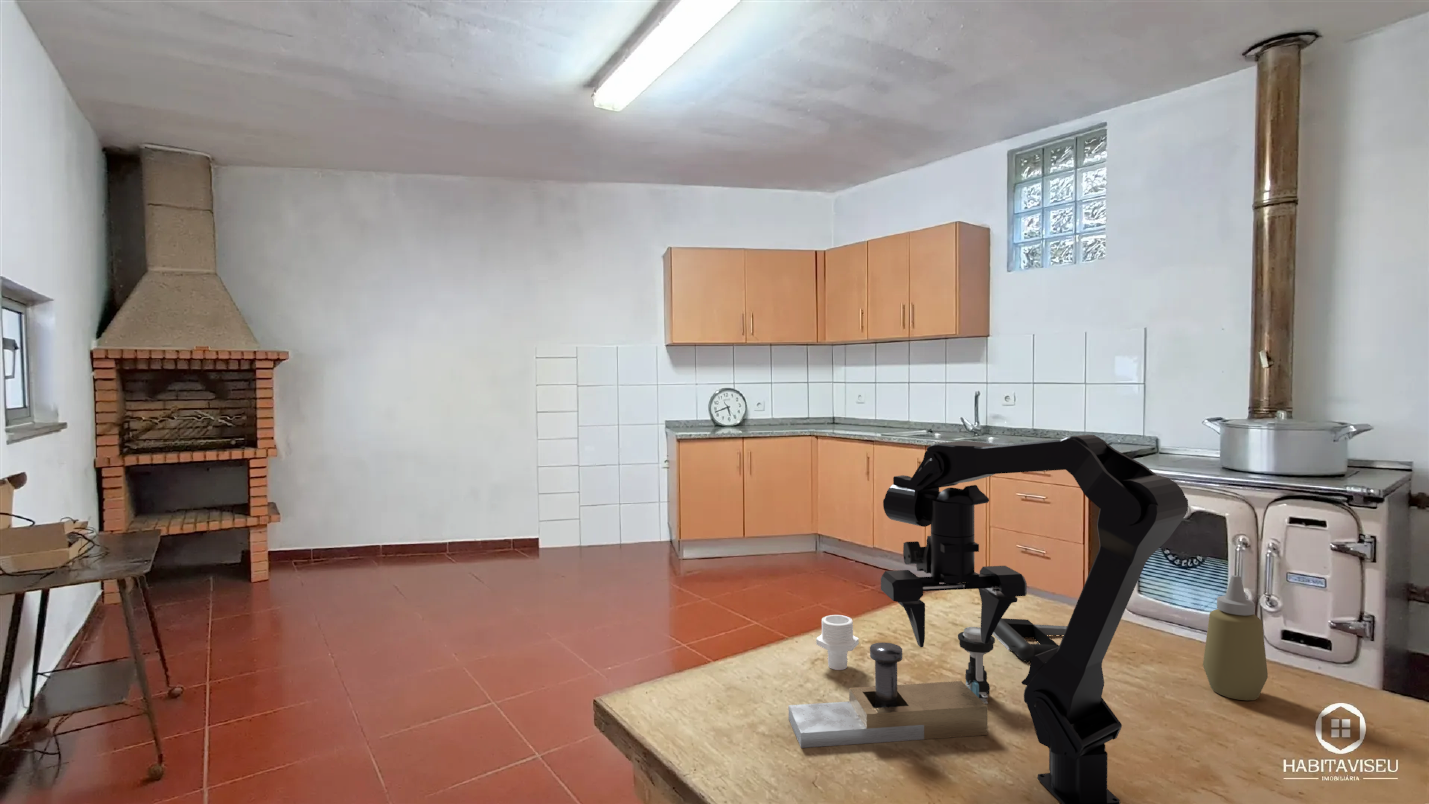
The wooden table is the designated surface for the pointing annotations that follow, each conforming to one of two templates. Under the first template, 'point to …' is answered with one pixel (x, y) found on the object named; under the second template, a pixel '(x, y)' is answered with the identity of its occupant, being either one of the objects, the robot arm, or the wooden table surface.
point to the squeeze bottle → (1235, 646)
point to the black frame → (1016, 629)
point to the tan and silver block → (892, 716)
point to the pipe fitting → (837, 640)
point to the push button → (976, 661)
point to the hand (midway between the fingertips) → (952, 644)
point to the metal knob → (885, 673)
